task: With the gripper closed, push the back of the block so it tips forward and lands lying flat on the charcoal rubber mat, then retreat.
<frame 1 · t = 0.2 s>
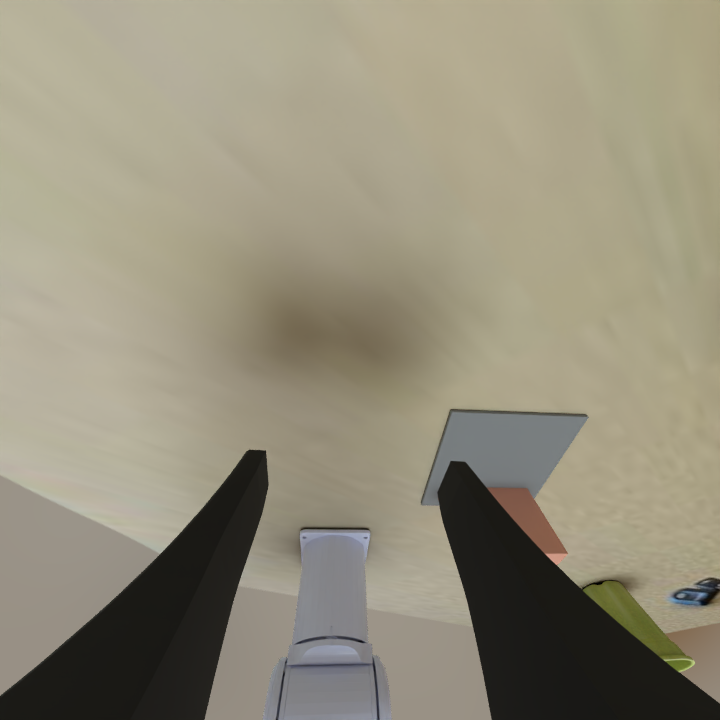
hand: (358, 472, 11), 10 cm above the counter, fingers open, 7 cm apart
mat: (494, 463, 26), on the counter
plant pot: (598, 586, 42), on the counter
block: (482, 493, 28), resting on mat
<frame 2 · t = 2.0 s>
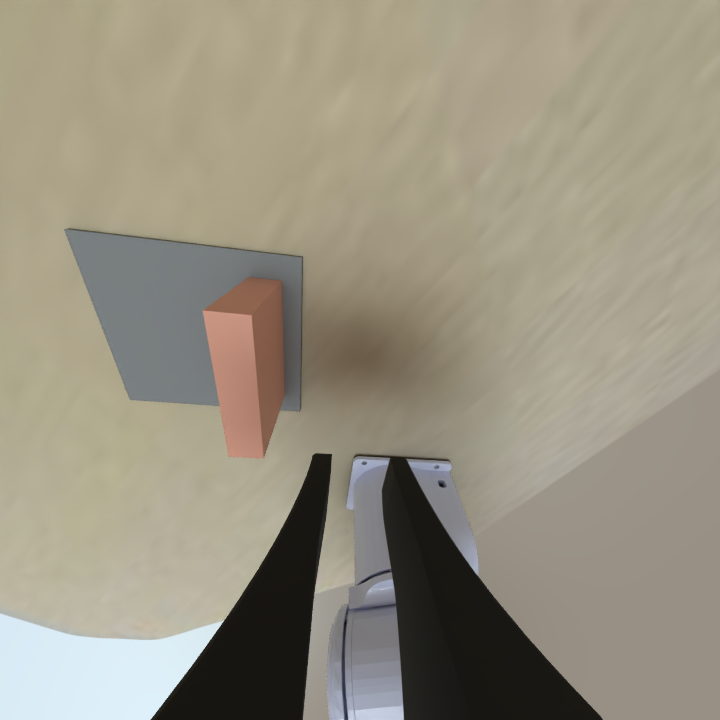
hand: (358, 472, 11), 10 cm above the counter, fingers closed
mat: (206, 336, 19), on the counter
block: (268, 343, 19), resting on mat
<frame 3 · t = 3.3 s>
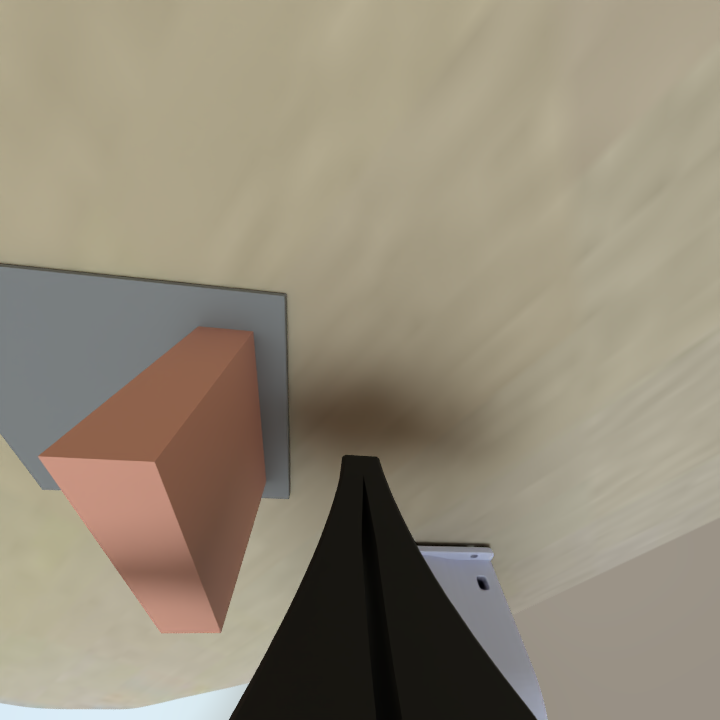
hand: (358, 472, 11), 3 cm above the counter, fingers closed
mat: (143, 407, 12), on the counter
block: (238, 418, 12), resting on mat
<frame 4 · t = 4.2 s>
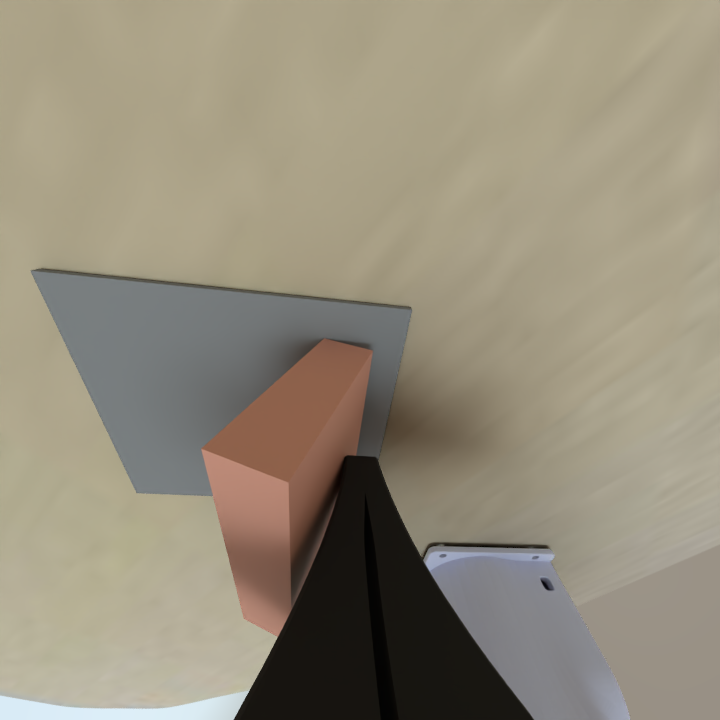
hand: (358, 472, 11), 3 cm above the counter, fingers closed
mat: (250, 414, 13), on the counter
block: (339, 430, 13), point 1 cm above the counter, tilted 20°, touching gripper, mat
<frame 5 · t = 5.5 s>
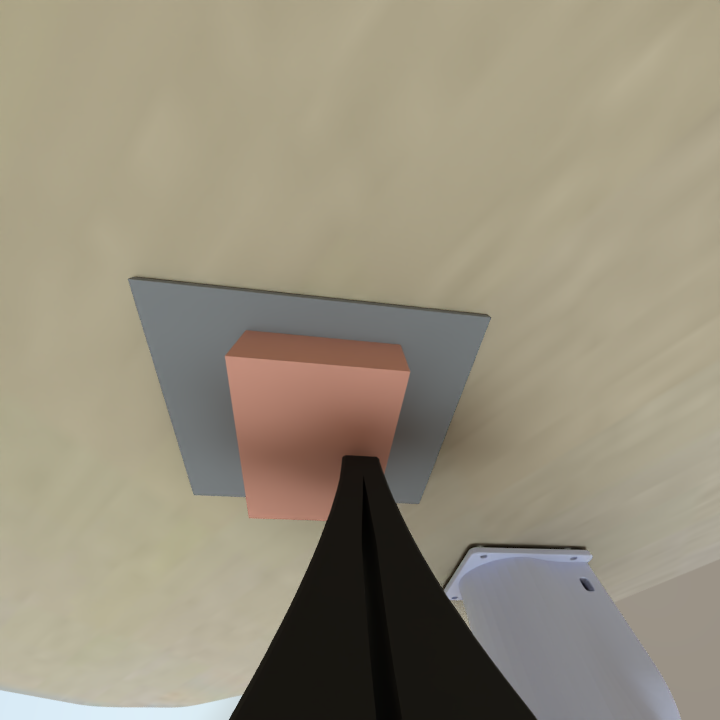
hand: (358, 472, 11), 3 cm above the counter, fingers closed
mat: (315, 418, 13), on the counter
block: (384, 443, 12), point 1 cm above the counter, tilted 90°, touching mat
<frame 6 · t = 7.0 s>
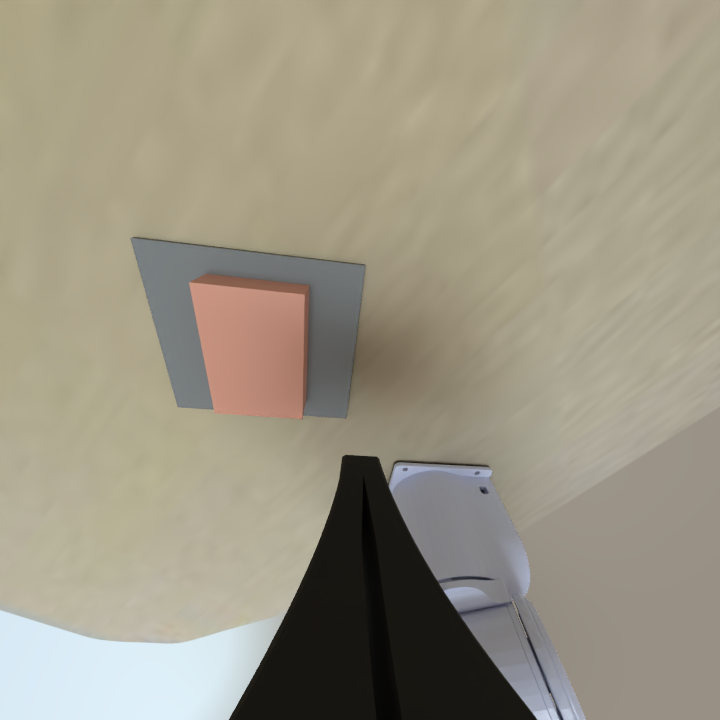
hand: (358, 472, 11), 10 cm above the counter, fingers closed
mat: (260, 343, 19), on the counter
block: (305, 357, 18), point 1 cm above the counter, tilted 90°, touching mat
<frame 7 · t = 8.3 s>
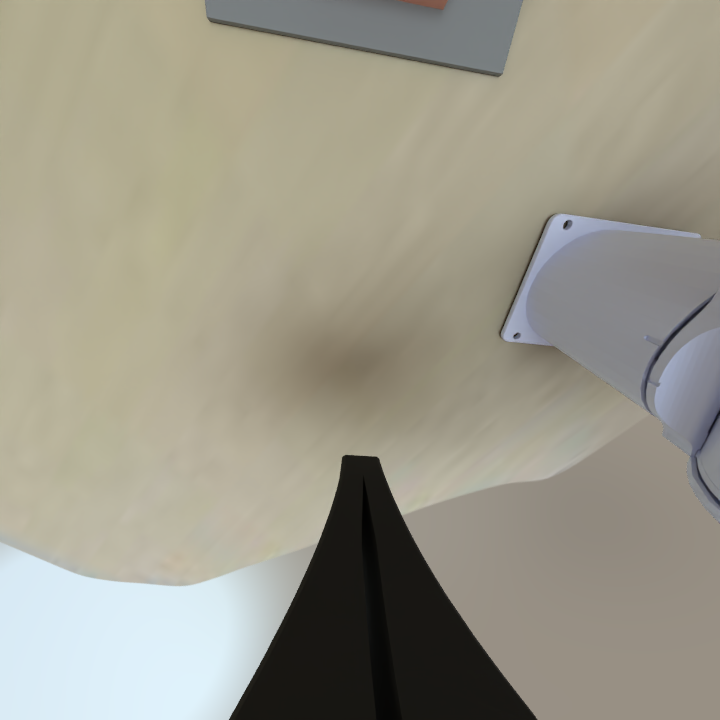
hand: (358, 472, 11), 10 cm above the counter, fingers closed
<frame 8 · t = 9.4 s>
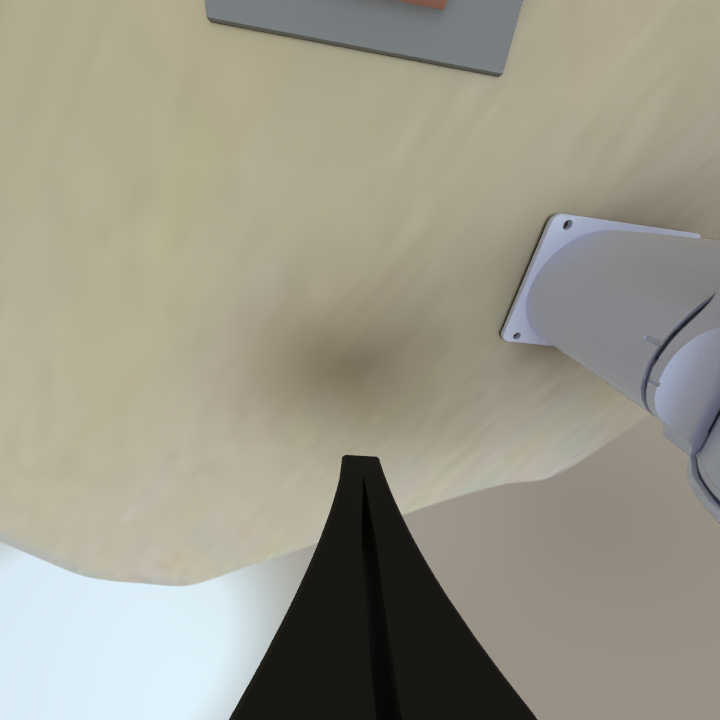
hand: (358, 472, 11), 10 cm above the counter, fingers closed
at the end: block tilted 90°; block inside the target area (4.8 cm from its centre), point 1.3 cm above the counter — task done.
